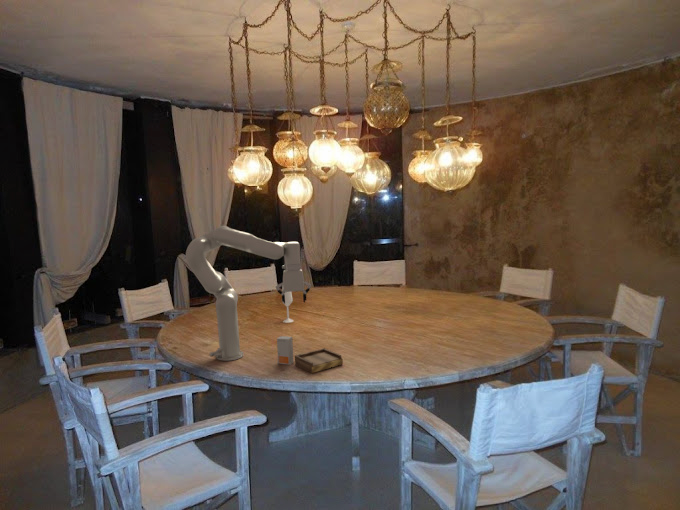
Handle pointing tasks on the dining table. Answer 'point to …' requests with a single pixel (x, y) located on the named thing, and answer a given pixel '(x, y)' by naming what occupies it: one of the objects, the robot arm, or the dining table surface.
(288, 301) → the champagne flute
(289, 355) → the skincare box
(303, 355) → the wooden tray
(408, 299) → the dining table surface
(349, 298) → the dining table surface
